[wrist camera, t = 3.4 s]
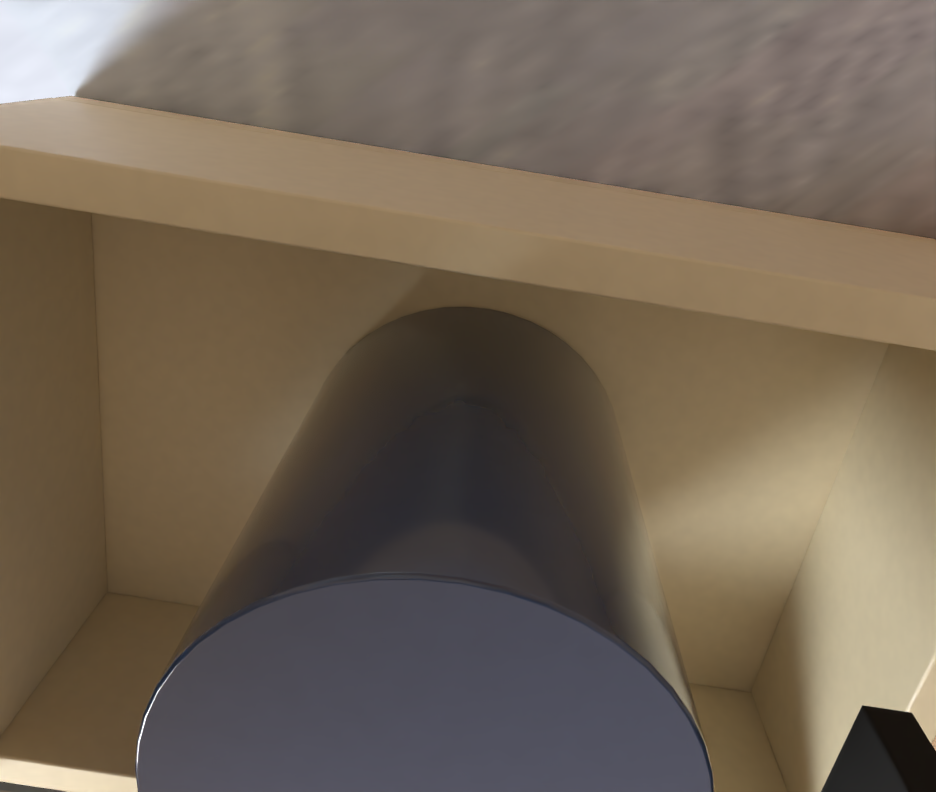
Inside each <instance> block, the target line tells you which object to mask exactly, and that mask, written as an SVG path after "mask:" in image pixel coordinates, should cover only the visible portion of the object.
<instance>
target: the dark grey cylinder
mask: <svg viewBox="0 0 936 792" xmlns="http://www.w3.org/2000/svg"><path fill="white" fill-rule="evenodd" d="M135 772H136V781H137V789H138V792H714V778H713V769H712V766H711V762H710V758H709V754H708V751H707V747H706V743H705V739H704V736H703V732H702V728H701V725H700V721H699V718H698V714H697V710H696V707H695V703H694V700H693V696H692V692H691V689H690V685H689V681H688V678H687V674H686V671H685V667H684V663H683V660H682V656H681V652H680V649H679V645H678V642H677V638H676V634H675V631H674V627H673V624H672V620H671V616H670V613H669V609H668V605H667V602H666V598H665V595H664V591H663V587H662V584H661V580H660V577H659V573H658V569H657V566H656V562H655V558H654V555H653V551H652V548H651V544H650V540H649V537H648V533H647V529H646V526H645V522H644V519H643V515H642V511H641V508H640V504H639V501H638V497H637V493H636V490H635V486H634V482H633V479H632V475H631V472H630V468H629V464H628V461H627V457H626V453H625V450H624V446H623V443H622V439H621V435H620V432H619V428H618V425H617V421H616V417H615V414H614V410H613V407H612V404H611V402H610V400H609V397H608V395H607V393H606V390H605V389H604V387H603V385H602V384H601V382H600V380H599V379H598V377H597V376H596V374H595V372H594V371H593V370H592V369H591V368H590V366H589V365H588V364H587V363H586V362H585V360H584V359H583V358H582V357H581V356H580V355H579V354H578V353H577V352H576V351H575V350H574V349H572V348H571V347H570V346H569V345H568V344H567V343H566V342H564V341H563V340H561V339H560V338H559V337H557V336H556V335H554V334H553V333H551V332H550V331H548V330H546V329H544V328H542V327H540V326H539V325H537V324H535V323H533V322H531V321H528V320H526V319H523V318H520V317H517V316H515V315H512V314H509V313H504V312H500V311H496V310H491V309H485V308H475V307H443V308H437V309H430V310H424V311H420V312H417V313H413V314H410V315H406V316H403V317H400V318H398V319H396V320H394V321H391V322H389V323H387V324H384V325H383V326H381V327H379V328H378V329H376V330H374V331H373V332H371V333H369V334H368V335H366V336H365V337H364V338H362V339H361V340H360V341H359V342H358V343H356V344H355V345H354V346H353V347H351V348H350V349H349V350H348V352H347V353H346V354H345V355H344V356H343V357H342V358H341V359H340V360H339V361H338V362H337V364H336V365H335V367H334V368H333V370H332V371H331V373H330V374H329V376H328V377H327V378H326V380H325V382H324V384H323V386H322V387H321V389H320V391H319V393H318V395H317V396H316V398H315V400H314V402H313V404H312V405H311V407H310V409H309V411H308V413H307V414H306V416H305V418H304V420H303V422H302V423H301V425H300V427H299V429H298V431H297V432H296V434H295V436H294V438H293V440H292V441H291V443H290V445H289V447H288V449H287V450H286V452H285V454H284V456H283V458H282V459H281V461H280V463H279V465H278V467H277V468H276V470H275V472H274V474H273V476H272V477H271V479H270V481H269V483H268V485H267V486H266V488H265V490H264V492H263V494H262V495H261V497H260V499H259V501H258V503H257V504H256V506H255V508H254V510H253V512H252V513H251V515H250V517H249V519H248V520H247V522H246V524H245V526H244V528H243V529H242V531H241V533H240V535H239V537H238V538H237V540H236V542H235V544H234V546H233V547H232V549H231V551H230V553H229V555H228V556H227V558H226V560H225V562H224V564H223V565H222V567H221V569H220V571H219V573H218V574H217V576H216V578H215V580H214V582H213V583H212V585H211V587H210V589H209V591H208V592H207V594H206V596H205V598H204V600H203V601H202V603H201V605H200V607H199V609H198V610H197V612H196V614H195V616H194V618H193V619H192V621H191V623H190V625H189V627H188V628H187V630H186V632H185V634H184V636H183V637H182V639H181V641H180V643H179V645H178V646H177V648H176V650H175V652H174V654H173V655H172V657H171V659H170V661H169V663H168V664H167V666H166V668H165V670H164V672H163V673H162V675H161V677H160V679H159V681H158V682H157V684H156V686H155V688H154V690H153V692H152V695H151V697H150V699H149V701H148V703H147V705H146V707H145V710H144V712H143V716H142V720H141V724H140V728H139V731H138V735H137V743H136V759H135Z"/></svg>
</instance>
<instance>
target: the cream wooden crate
mask: <svg viewBox="0 0 936 792" xmlns="http://www.w3.org/2000/svg"><path fill="white" fill-rule="evenodd" d="M443 307H475V308H485V309H491V310H496V311H500V312H504V313H509V314H512V315H515V316H517V317H520V318H523V319H526V320H528V321H531V322H533V323H535V324H537V325H539V326H540V327H542V328H544V329H546V330H548V331H550V332H551V333H553V334H554V335H556V336H557V337H559V338H560V339H561V340H563V341H564V342H566V343H567V344H568V345H569V346H570V347H571V348H572V349H574V350H575V351H576V352H577V353H578V354H579V355H580V356H581V357H582V358H583V359H584V360H585V362H586V363H587V364H588V365H589V366H590V368H591V369H592V370H593V371H594V372H595V374H596V376H597V377H598V379H599V380H600V382H601V384H602V385H603V387H604V389H605V390H606V393H607V395H608V397H609V400H610V402H611V404H612V407H613V410H614V414H615V417H616V421H617V425H618V428H619V432H620V435H621V439H622V443H623V446H624V450H625V453H626V457H627V461H628V464H629V468H630V472H631V475H632V479H633V482H634V486H635V490H636V493H637V497H638V501H639V504H640V508H641V511H642V515H643V519H644V522H645V526H646V529H647V533H648V537H649V540H650V544H651V548H652V551H653V555H654V558H655V562H656V566H657V569H658V573H659V577H660V580H661V584H662V587H663V591H664V595H665V598H666V602H667V605H668V609H669V613H670V616H671V620H672V624H673V627H674V631H675V634H676V638H677V642H678V645H679V649H680V652H681V656H682V660H683V663H684V667H685V671H686V674H687V678H688V681H689V685H690V689H691V692H692V696H693V700H694V703H695V707H696V710H697V714H698V718H699V721H700V725H701V728H702V732H703V736H704V739H705V743H706V747H707V751H708V754H709V758H710V762H711V766H712V769H713V778H714V792H821V790H822V788H823V786H824V784H825V782H826V780H827V778H828V776H829V774H830V772H831V770H832V767H833V765H834V763H835V761H836V759H837V757H838V755H839V753H840V751H841V749H842V747H843V744H844V742H845V740H846V738H847V736H848V734H849V732H850V730H851V728H852V726H853V723H854V721H855V719H856V717H857V715H858V713H859V711H860V709H861V707H862V705H864V706H871V707H877V708H884V709H891V710H898V711H904V712H911V713H913V715H914V717H915V718H916V720H917V722H918V723H919V725H920V726H921V728H922V730H923V731H924V733H925V735H926V736H927V738H928V740H929V741H930V743H931V744H932V742H933V741H934V739H935V737H936V239H932V238H926V237H920V236H914V235H908V234H902V233H896V232H890V231H884V230H878V229H872V228H866V227H860V226H854V225H848V224H842V223H836V222H830V221H824V220H818V219H812V218H805V217H799V216H793V215H787V214H781V213H775V212H769V211H763V210H757V209H751V208H745V207H739V206H733V205H727V204H721V203H715V202H709V201H703V200H697V199H691V198H685V197H679V196H673V195H667V194H661V193H655V192H649V191H642V190H636V189H630V188H624V187H618V186H612V185H606V184H600V183H594V182H588V181H582V180H576V179H570V178H564V177H558V176H552V175H546V174H540V173H534V172H528V171H522V170H516V169H510V168H504V167H498V166H492V165H486V164H479V163H473V162H467V161H461V160H455V159H449V158H443V157H437V156H431V155H425V154H419V153H413V152H407V151H401V150H395V149H389V148H383V147H377V146H371V145H365V144H359V143H353V142H347V141H341V140H335V139H329V138H323V137H317V136H310V135H304V134H298V133H292V132H286V131H280V130H274V129H268V128H262V127H256V126H250V125H244V124H238V123H232V122H226V121H220V120H214V119H208V118H202V117H196V116H190V115H184V114H178V113H172V112H166V111H160V110H154V109H147V108H141V107H135V106H129V105H123V104H117V103H111V102H105V101H99V100H93V99H87V98H81V97H75V96H66V97H58V98H46V99H38V100H29V101H20V102H12V103H3V104H0V781H1V782H8V783H15V784H21V785H28V786H34V787H41V788H47V789H54V790H61V791H67V792H138V789H137V781H136V772H135V759H136V743H137V735H138V731H139V728H140V724H141V720H142V716H143V712H144V710H145V707H146V705H147V703H148V701H149V699H150V697H151V695H152V692H153V690H154V688H155V686H156V684H157V682H158V681H159V679H160V677H161V675H162V673H163V672H164V670H165V668H166V666H167V664H168V663H169V661H170V659H171V657H172V655H173V654H174V652H175V650H176V648H177V646H178V645H179V643H180V641H181V639H182V637H183V636H184V634H185V632H186V630H187V628H188V627H189V625H190V623H191V621H192V619H193V618H194V616H195V614H196V612H197V610H198V609H199V607H200V605H201V603H202V601H203V600H204V598H205V596H206V594H207V592H208V591H209V589H210V587H211V585H212V583H213V582H214V580H215V578H216V576H217V574H218V573H219V571H220V569H221V567H222V565H223V564H224V562H225V560H226V558H227V556H228V555H229V553H230V551H231V549H232V547H233V546H234V544H235V542H236V540H237V538H238V537H239V535H240V533H241V531H242V529H243V528H244V526H245V524H246V522H247V520H248V519H249V517H250V515H251V513H252V512H253V510H254V508H255V506H256V504H257V503H258V501H259V499H260V497H261V495H262V494H263V492H264V490H265V488H266V486H267V485H268V483H269V481H270V479H271V477H272V476H273V474H274V472H275V470H276V468H277V467H278V465H279V463H280V461H281V459H282V458H283V456H284V454H285V452H286V450H287V449H288V447H289V445H290V443H291V441H292V440H293V438H294V436H295V434H296V432H297V431H298V429H299V427H300V425H301V423H302V422H303V420H304V418H305V416H306V414H307V413H308V411H309V409H310V407H311V405H312V404H313V402H314V400H315V398H316V396H317V395H318V393H319V391H320V389H321V387H322V386H323V384H324V382H325V380H326V378H327V377H328V376H329V374H330V373H331V371H332V370H333V368H334V367H335V365H336V364H337V362H338V361H339V360H340V359H341V358H342V357H343V356H344V355H345V354H346V353H347V352H348V350H349V349H350V348H351V347H353V346H354V345H355V344H356V343H358V342H359V341H360V340H361V339H362V338H364V337H365V336H366V335H368V334H369V333H371V332H373V331H374V330H376V329H378V328H379V327H381V326H383V325H384V324H387V323H389V322H391V321H394V320H396V319H398V318H400V317H403V316H406V315H410V314H413V313H417V312H420V311H424V310H430V309H437V308H443Z"/></svg>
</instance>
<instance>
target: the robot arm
mask: <svg viewBox="0 0 936 792" xmlns="http://www.w3.org/2000/svg"><path fill="white" fill-rule="evenodd" d="M821 792H936V751H935V749H934V748H933V746H932V744H931V743H930V741H929V740H928V738H927V736H926V735H925V733H924V731H923V730H922V728H921V726H920V725H919V723H918V722H917V720H916V718H915V717H914V715H913V713H911V712H904V711H898V710H891V709H884V708H877V707H871V706H864V705H862V707H861V709H860V711H859V713H858V715H857V717H856V719H855V721H854V723H853V726H852V728H851V730H850V732H849V734H848V736H847V738H846V740H845V742H844V744H843V747H842V749H841V751H840V753H839V755H838V757H837V759H836V761H835V763H834V765H833V767H832V770H831V772H830V774H829V776H828V778H827V780H826V782H825V784H824V786H823V788H822V790H821Z"/></svg>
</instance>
